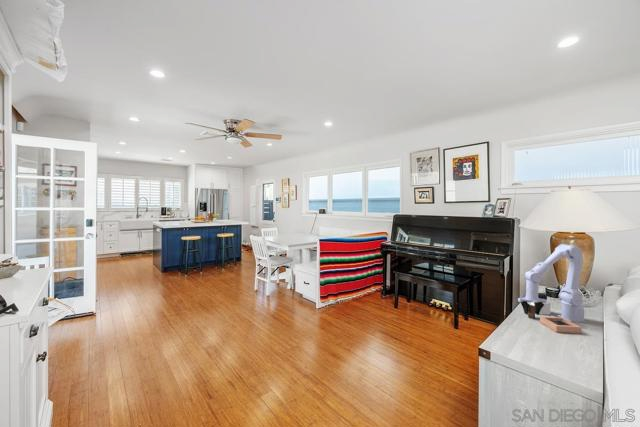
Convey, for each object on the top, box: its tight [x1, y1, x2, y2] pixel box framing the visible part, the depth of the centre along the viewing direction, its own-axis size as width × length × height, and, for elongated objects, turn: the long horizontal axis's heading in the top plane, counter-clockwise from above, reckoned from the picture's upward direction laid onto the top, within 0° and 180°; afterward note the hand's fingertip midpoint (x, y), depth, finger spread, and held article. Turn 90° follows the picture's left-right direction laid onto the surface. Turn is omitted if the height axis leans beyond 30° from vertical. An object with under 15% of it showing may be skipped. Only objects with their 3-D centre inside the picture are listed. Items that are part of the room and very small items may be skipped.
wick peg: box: [527, 304, 536, 320], centre depth 159 cm, size 3×3×7 cm
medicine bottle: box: [530, 292, 551, 316], centre depth 166 cm, size 7×7×12 cm
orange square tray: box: [539, 316, 582, 335], centre depth 145 cm, size 12×12×4 cm
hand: (531, 314), depth 159 cm, fingers open, 5 cm apart
